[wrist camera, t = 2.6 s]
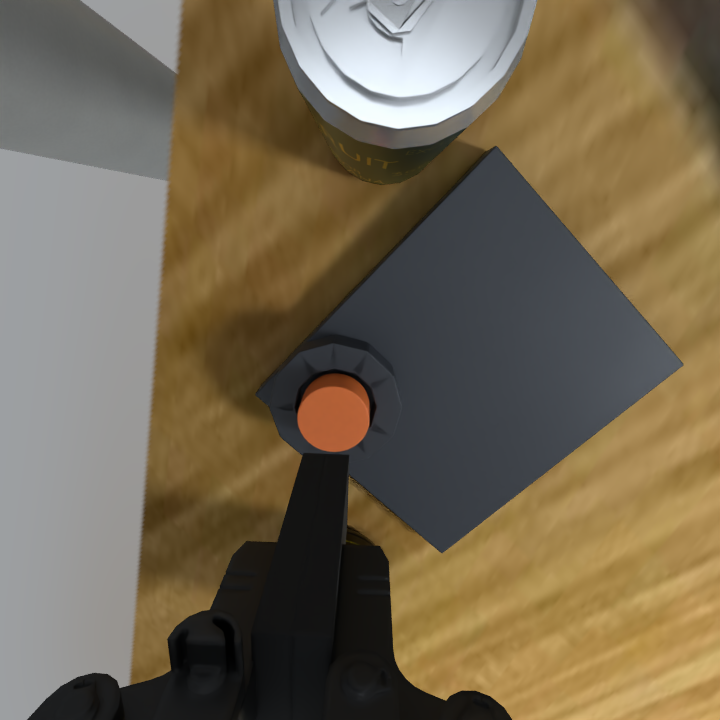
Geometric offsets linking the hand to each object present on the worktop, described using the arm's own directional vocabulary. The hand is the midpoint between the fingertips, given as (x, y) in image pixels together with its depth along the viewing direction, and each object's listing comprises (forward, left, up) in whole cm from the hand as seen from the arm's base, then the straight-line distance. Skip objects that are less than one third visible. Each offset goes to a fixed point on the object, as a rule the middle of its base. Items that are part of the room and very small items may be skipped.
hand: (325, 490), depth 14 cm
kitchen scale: (+4, +5, -9) cm, 11 cm away
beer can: (-7, +11, -10) cm, 16 cm away
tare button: (0, 0, -7) cm, 7 cm away
